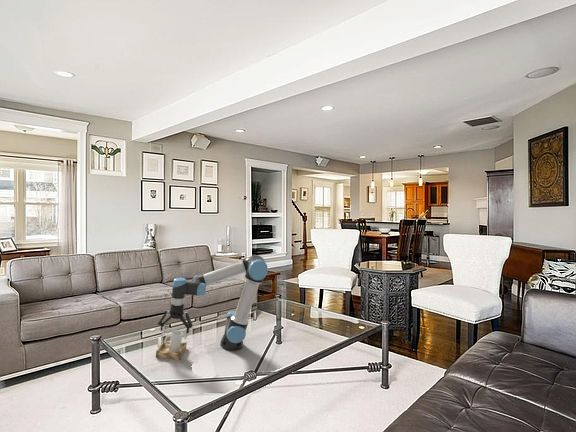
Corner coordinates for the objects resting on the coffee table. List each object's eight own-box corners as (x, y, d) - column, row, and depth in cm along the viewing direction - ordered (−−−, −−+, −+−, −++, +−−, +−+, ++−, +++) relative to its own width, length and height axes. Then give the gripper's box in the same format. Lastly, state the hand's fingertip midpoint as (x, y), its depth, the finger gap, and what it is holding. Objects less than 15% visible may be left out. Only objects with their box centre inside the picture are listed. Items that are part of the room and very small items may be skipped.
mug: (179, 348, 217) (182, 330, 216) (180, 353, 211) (183, 335, 210) (162, 348, 213) (165, 330, 212) (163, 354, 207) (166, 335, 206)
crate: (185, 348, 220) (186, 342, 220) (180, 360, 206) (181, 353, 205) (163, 345, 219) (163, 339, 219) (155, 357, 205) (156, 350, 204)
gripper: (199, 303, 214) (196, 336, 216) (158, 299, 212) (155, 332, 214) (197, 308, 206) (193, 341, 209) (154, 303, 205) (151, 337, 207)
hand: (174, 337), depth 211 cm, fingers open, 13 cm apart
